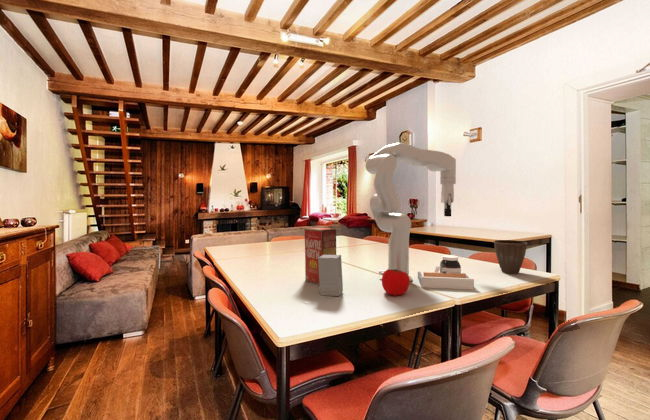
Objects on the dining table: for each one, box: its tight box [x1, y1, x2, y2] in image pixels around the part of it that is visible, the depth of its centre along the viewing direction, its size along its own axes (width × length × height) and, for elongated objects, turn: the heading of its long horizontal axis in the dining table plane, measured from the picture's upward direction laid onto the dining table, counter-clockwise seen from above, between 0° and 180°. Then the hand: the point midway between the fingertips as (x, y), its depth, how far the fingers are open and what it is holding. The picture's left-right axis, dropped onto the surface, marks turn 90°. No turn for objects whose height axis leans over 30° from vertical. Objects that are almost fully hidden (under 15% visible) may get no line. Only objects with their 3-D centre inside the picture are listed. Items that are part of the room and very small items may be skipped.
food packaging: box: [304, 226, 337, 285], centre depth 151 cm, size 13×9×25 cm
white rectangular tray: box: [417, 271, 475, 291], centre depth 146 cm, size 21×17×4 cm
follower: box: [423, 271, 467, 278], centre depth 145 cm, size 18×2×6 cm, turn 79°
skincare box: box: [318, 254, 344, 297], centre depth 131 cm, size 8×7×16 cm
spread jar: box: [433, 254, 462, 273], centre depth 151 cm, size 12×11×12 cm
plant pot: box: [493, 239, 528, 275], centre depth 166 cm, size 15×15×16 cm
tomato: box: [381, 269, 411, 297], centre depth 131 cm, size 11×13×10 cm
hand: (447, 216), depth 169 cm, fingers closed
